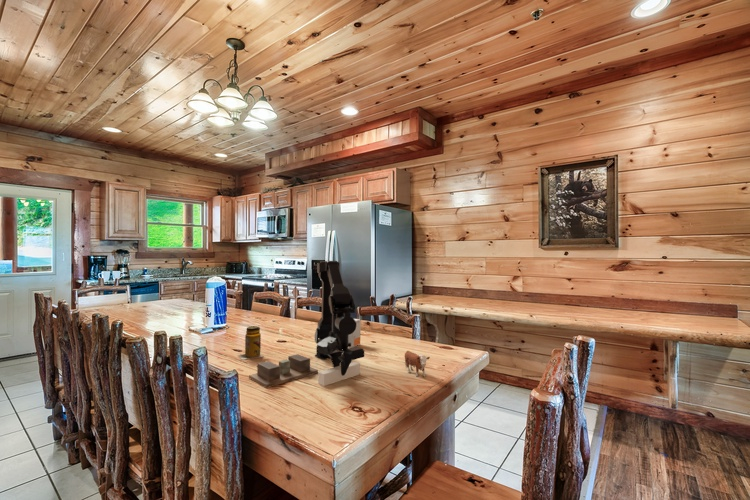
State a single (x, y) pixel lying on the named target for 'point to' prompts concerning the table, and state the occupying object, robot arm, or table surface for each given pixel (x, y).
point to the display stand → (282, 371)
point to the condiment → (252, 343)
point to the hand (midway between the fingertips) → (340, 374)
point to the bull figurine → (415, 362)
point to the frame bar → (337, 374)
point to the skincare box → (355, 334)
